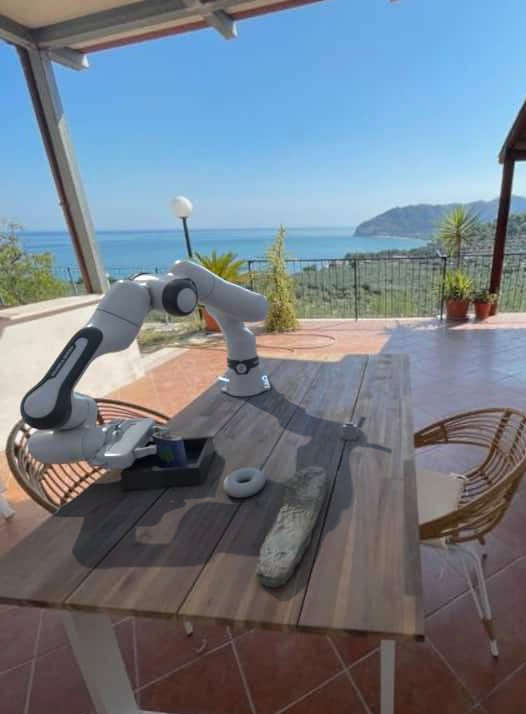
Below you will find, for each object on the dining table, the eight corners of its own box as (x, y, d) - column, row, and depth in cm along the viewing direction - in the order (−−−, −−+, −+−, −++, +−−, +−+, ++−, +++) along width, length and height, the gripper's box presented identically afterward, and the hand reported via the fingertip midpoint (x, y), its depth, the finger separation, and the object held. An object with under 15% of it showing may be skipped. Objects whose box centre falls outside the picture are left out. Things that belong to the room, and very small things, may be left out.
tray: (148, 456, 109) (144, 440, 108) (214, 451, 112) (212, 436, 110) (124, 490, 95) (120, 473, 93) (201, 484, 97) (198, 467, 95)
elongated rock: (242, 591, 69) (296, 599, 69) (240, 570, 67) (296, 578, 66) (296, 471, 101) (334, 476, 100) (296, 454, 99) (334, 459, 98)
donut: (216, 498, 92) (255, 503, 90) (213, 486, 91) (253, 490, 89) (236, 474, 101) (272, 478, 99) (234, 463, 100) (271, 466, 98)
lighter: (343, 439, 118) (342, 415, 115) (343, 436, 120) (343, 413, 117) (366, 439, 118) (366, 416, 115) (366, 437, 120) (366, 413, 117)
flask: (190, 466, 103) (183, 430, 99) (182, 472, 100) (175, 435, 96) (162, 460, 105) (155, 425, 102) (154, 466, 103) (146, 430, 99)
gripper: (80, 454, 87) (145, 449, 89) (119, 415, 106) (173, 412, 108) (87, 478, 89) (151, 473, 91) (124, 435, 108) (176, 432, 110)
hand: (163, 439), depth 100 cm, fingers open, 8 cm apart
